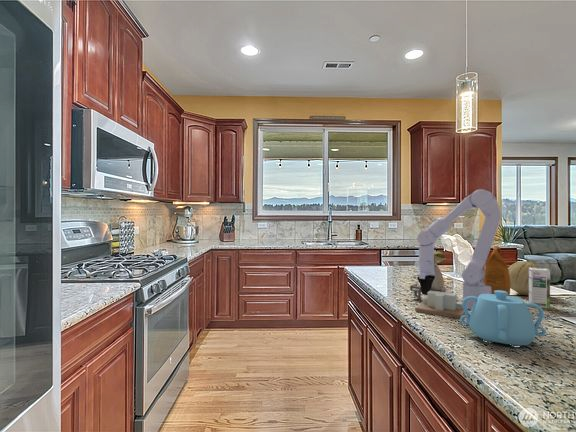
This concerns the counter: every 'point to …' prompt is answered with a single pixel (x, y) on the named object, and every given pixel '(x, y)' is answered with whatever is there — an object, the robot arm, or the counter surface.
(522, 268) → the cantaloupe
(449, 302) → the tan board with cubes
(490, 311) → the decorative pot
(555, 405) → the counter surface
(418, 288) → the bracket with white balls
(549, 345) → the counter surface
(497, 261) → the coffee package
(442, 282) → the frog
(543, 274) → the syrup box
